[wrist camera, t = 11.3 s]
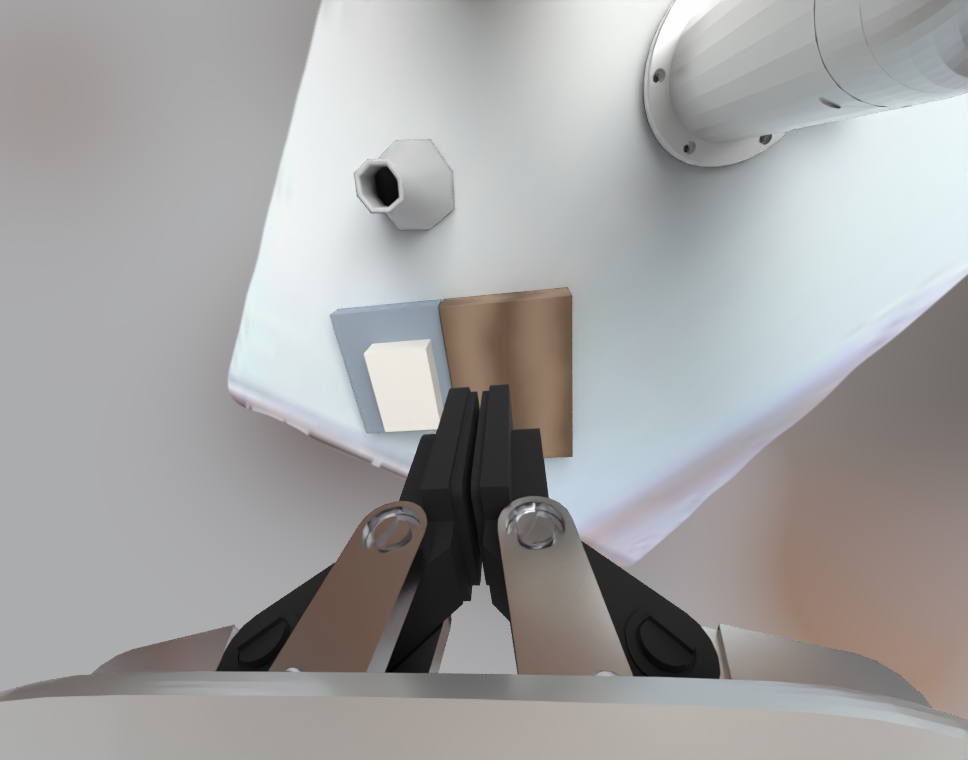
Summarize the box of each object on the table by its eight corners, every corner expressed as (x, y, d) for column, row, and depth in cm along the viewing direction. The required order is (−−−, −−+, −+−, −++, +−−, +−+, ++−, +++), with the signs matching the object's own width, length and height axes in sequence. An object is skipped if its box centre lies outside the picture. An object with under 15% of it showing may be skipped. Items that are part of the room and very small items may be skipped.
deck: (567, 287, 35) (572, 295, 33) (568, 440, 44) (572, 456, 41) (444, 299, 37) (438, 307, 34) (467, 445, 45) (465, 461, 42)
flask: (395, 242, 34) (355, 261, 26) (358, 157, 31) (300, 145, 23) (467, 215, 33) (452, 225, 24) (437, 122, 30) (407, 95, 21)
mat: (441, 299, 37) (437, 305, 35) (460, 417, 43) (458, 427, 41) (338, 309, 38) (329, 315, 36) (372, 423, 44) (366, 433, 42)
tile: (430, 339, 36) (425, 348, 34) (444, 415, 41) (441, 429, 38) (372, 343, 37) (363, 353, 35) (391, 418, 41) (385, 432, 39)
